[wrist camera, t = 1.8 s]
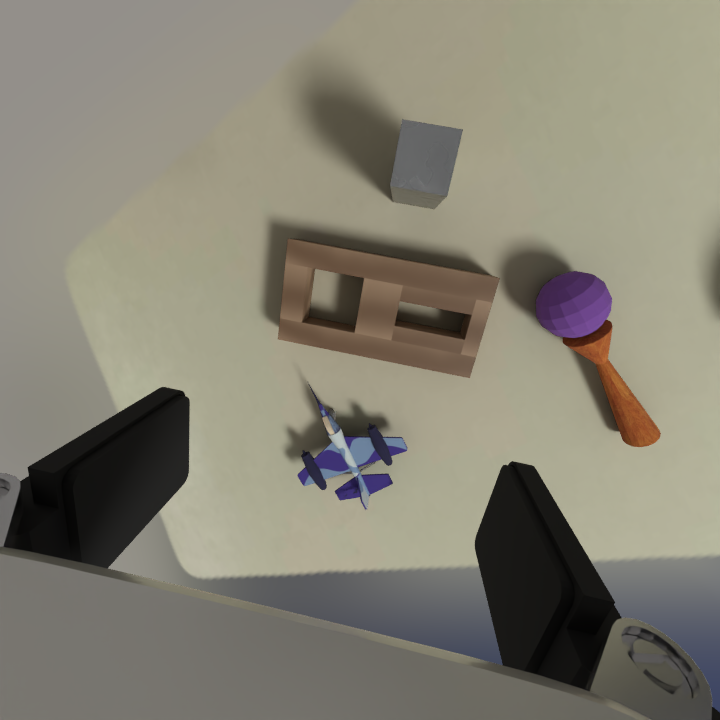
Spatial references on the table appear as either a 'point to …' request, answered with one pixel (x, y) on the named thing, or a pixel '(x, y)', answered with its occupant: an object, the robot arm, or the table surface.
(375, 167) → the table surface
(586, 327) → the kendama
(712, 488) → the table surface
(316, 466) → the toy airplane
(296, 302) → the socket block
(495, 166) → the table surface
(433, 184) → the square peg
